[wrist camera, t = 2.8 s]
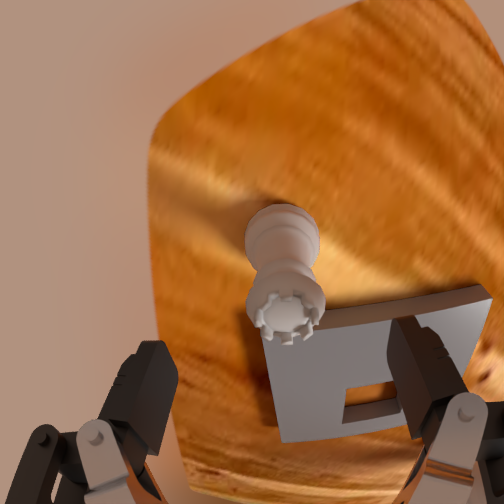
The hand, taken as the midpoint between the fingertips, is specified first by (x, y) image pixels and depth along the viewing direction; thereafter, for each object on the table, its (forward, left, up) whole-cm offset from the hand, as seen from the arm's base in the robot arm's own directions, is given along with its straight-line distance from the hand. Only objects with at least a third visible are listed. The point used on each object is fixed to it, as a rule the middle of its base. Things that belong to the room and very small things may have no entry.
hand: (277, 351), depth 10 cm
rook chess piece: (0, 0, -10) cm, 10 cm away
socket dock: (-7, +14, -10) cm, 18 cm away
